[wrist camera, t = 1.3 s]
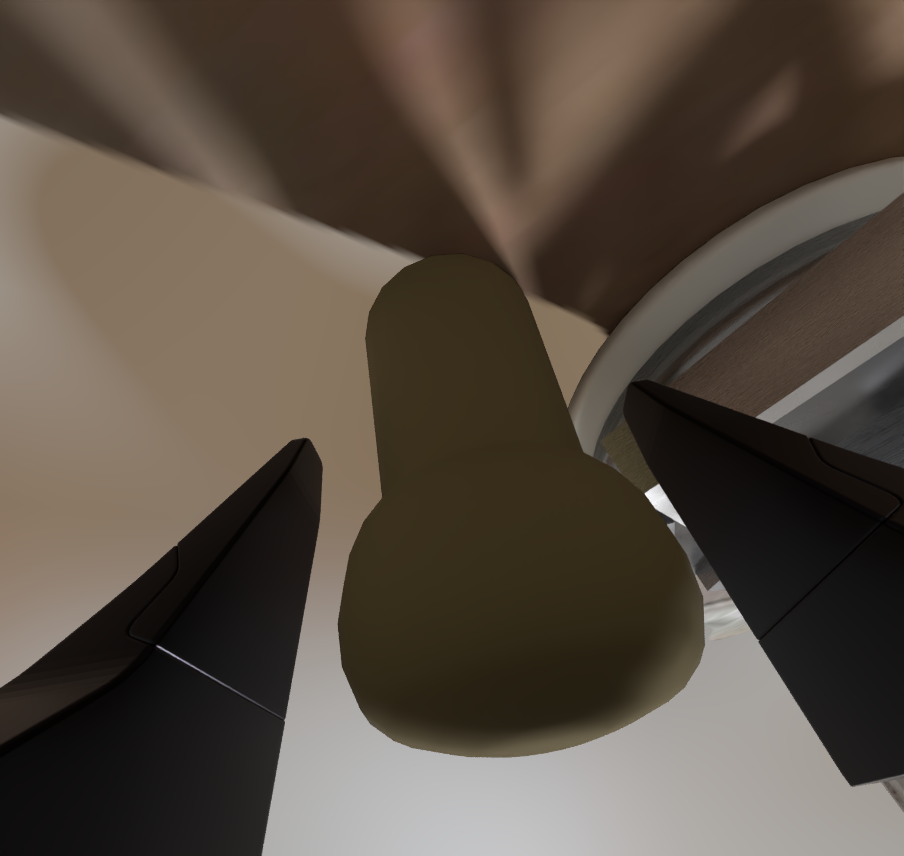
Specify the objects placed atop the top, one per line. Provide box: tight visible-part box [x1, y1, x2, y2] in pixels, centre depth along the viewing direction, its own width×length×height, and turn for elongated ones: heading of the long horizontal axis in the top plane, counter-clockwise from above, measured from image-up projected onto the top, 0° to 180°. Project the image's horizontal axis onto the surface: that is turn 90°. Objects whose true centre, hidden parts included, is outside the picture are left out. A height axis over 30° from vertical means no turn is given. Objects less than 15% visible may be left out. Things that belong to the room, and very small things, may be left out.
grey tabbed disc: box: [593, 192, 904, 591], centre depth 14 cm, size 17×17×4 cm
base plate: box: [568, 156, 904, 457], centre depth 16 cm, size 19×19×1 cm
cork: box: [338, 254, 705, 757], centre depth 9 cm, size 6×6×11 cm
